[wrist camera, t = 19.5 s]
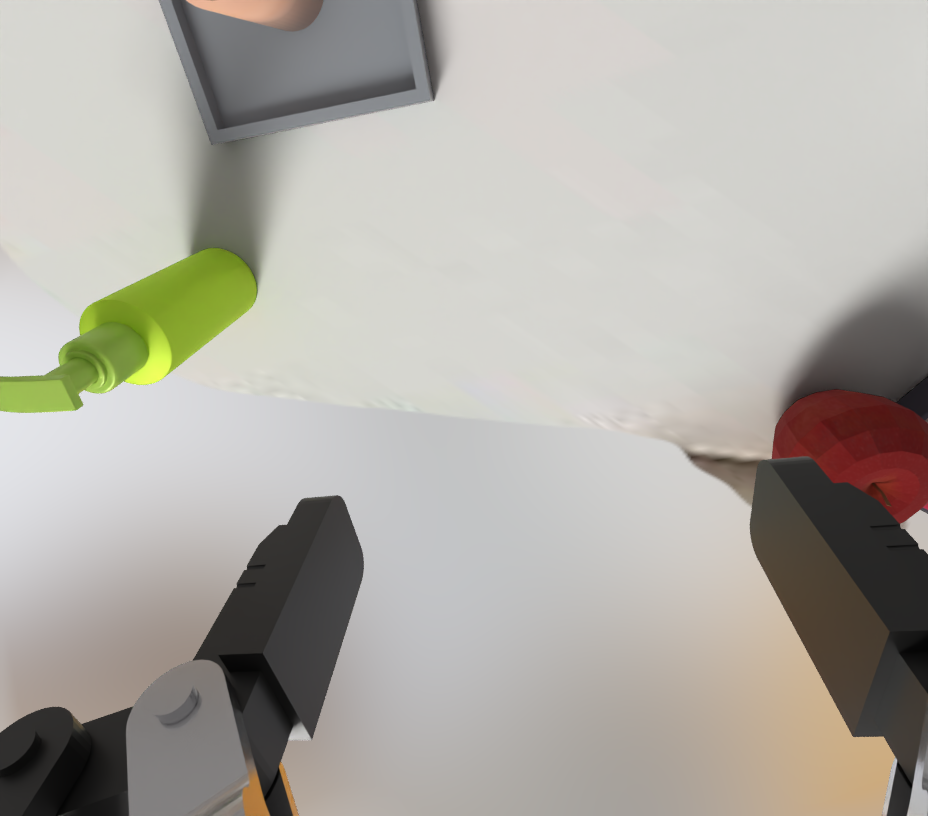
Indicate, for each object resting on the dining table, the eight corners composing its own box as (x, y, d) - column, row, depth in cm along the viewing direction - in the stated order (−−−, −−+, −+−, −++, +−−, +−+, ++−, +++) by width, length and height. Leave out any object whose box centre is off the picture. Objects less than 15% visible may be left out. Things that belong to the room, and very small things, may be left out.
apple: (866, 461, 48) (959, 555, 38) (743, 474, 50) (801, 567, 40) (889, 353, 43) (1004, 429, 33) (750, 372, 45) (819, 450, 35)
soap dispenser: (167, 249, 44) (-58, 347, 26) (246, 246, 43) (69, 344, 26) (189, 317, 46) (0, 444, 29) (264, 314, 46) (115, 443, 29)
